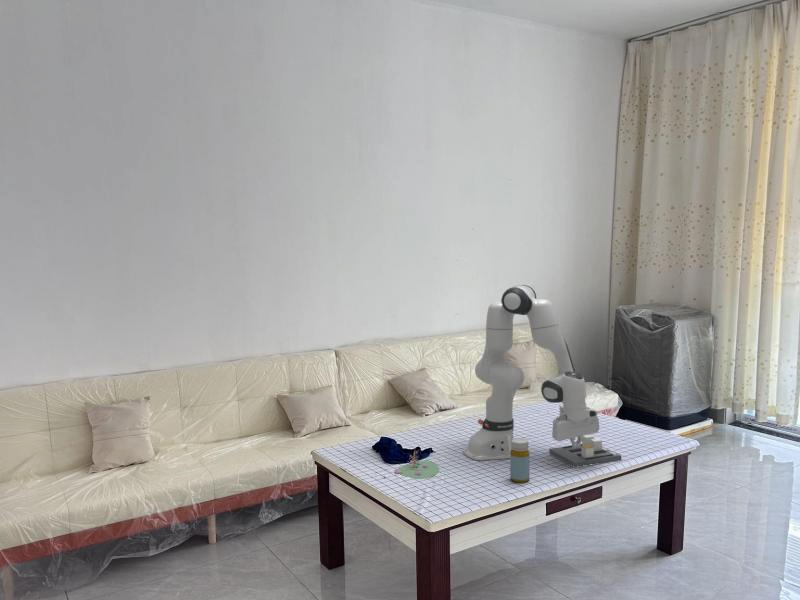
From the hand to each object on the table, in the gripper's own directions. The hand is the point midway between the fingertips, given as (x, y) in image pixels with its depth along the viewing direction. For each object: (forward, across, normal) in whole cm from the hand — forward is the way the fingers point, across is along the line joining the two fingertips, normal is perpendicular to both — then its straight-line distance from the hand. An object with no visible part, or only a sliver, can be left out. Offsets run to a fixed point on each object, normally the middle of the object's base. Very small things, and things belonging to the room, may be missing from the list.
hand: (576, 447), depth 250 cm
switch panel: (+7, +8, +6) cm, 12 cm away
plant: (+4, -64, +20) cm, 68 cm away
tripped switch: (+5, +5, 0) cm, 7 cm away
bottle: (+5, -30, -5) cm, 30 cm away
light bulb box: (+9, +28, +42) cm, 51 cm away
